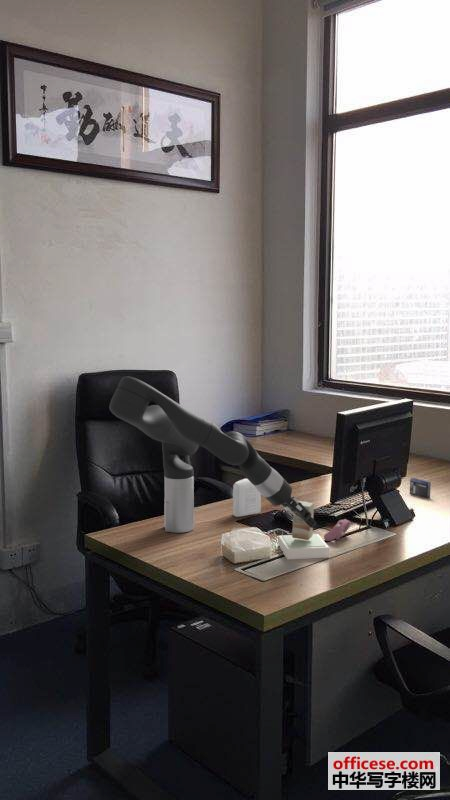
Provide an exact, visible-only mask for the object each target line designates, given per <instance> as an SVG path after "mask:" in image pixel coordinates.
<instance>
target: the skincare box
mask: <svg viewBox="0 0 450 800" xmlns="http://www.w3.org/2000/svg"><path fill="white" fill-rule="evenodd" d="M297 501H298V502H300V503H302V505H303V506H304V507H305V508H306V509H307V510H308V511H309V512H310V513H311V514H312V515H311V517H312V518H313V519H314V516H315V515H314V512H315V502H310V501H304V500H303V501H302V500H297ZM295 513H297V512H296V511H295ZM291 532H292V534H291V535H292V538H298V539H304V540H309V539H310V538H311V537H312V536H313V534H314V533H313V532H314V527H313V528H311V527H310V526H309V525H308V524H307V523H306V522H305V521H304V520H302V519H301V518H300V517H299V516H295V515H294V514H292V531H291Z"/></svg>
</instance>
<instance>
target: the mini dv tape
mask: <svg viewBox="0 0 450 800" xmlns="http://www.w3.org/2000/svg"><path fill="white" fill-rule="evenodd" d="M431 484H432V482H431V481H428V480H424V479H421V478H420V479H419V478H416V477H410V480H409V494H410V495H414V496H418V497H422V498H424V499H429V498H431Z"/></svg>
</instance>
